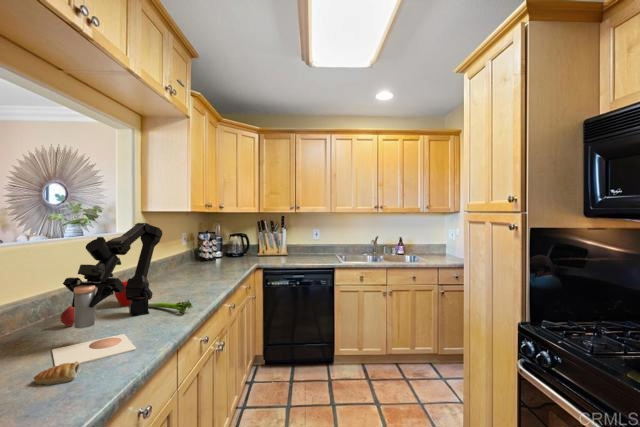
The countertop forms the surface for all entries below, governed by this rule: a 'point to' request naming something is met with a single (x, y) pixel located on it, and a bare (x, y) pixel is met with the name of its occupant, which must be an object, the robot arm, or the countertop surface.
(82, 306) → the tube
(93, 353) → the card
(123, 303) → the ceramic cup
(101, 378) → the countertop surface
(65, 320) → the onion
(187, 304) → the celery
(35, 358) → the countertop surface
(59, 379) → the pastry
